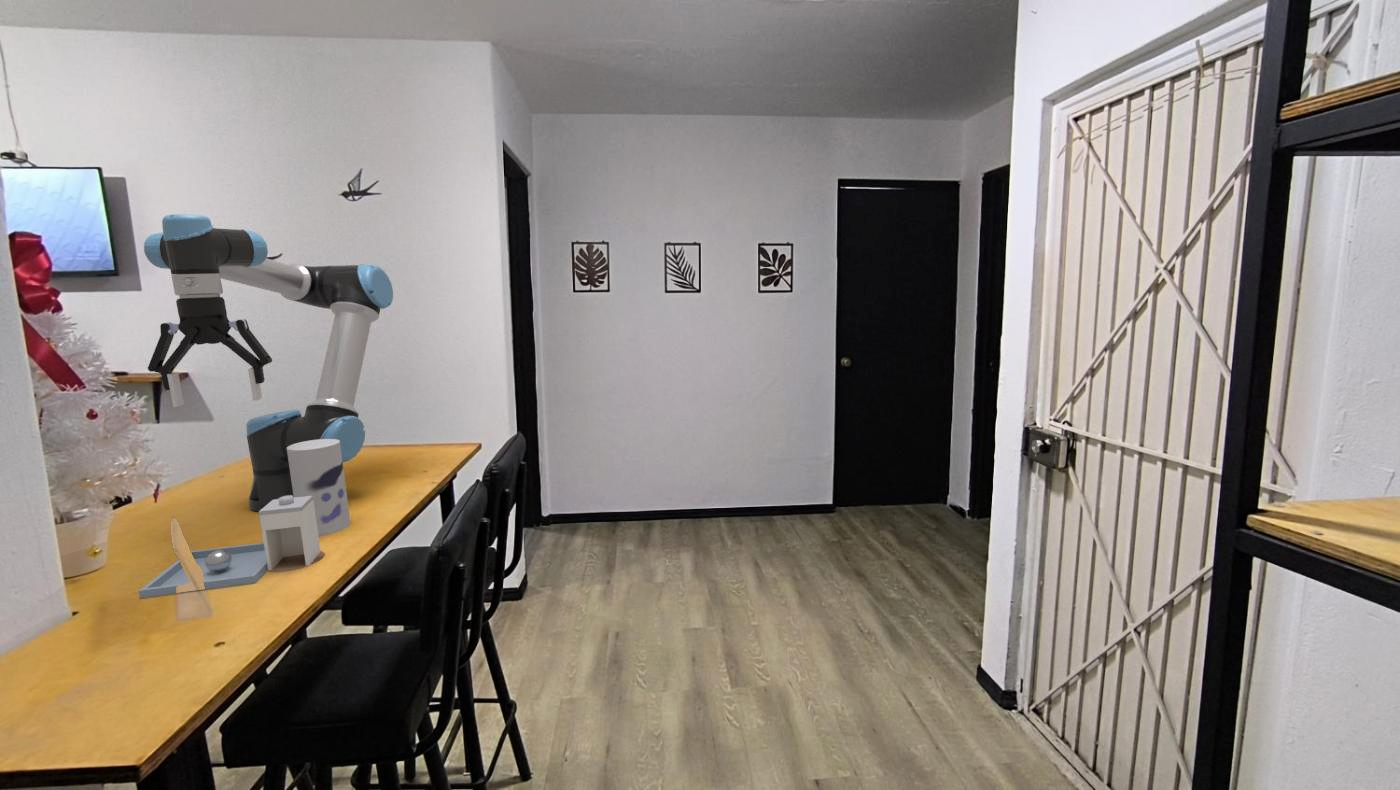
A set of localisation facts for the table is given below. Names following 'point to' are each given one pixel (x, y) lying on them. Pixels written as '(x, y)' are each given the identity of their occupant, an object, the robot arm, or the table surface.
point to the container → (321, 481)
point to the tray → (241, 571)
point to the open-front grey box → (289, 529)
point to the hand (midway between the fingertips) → (219, 402)
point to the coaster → (294, 562)
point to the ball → (218, 561)
